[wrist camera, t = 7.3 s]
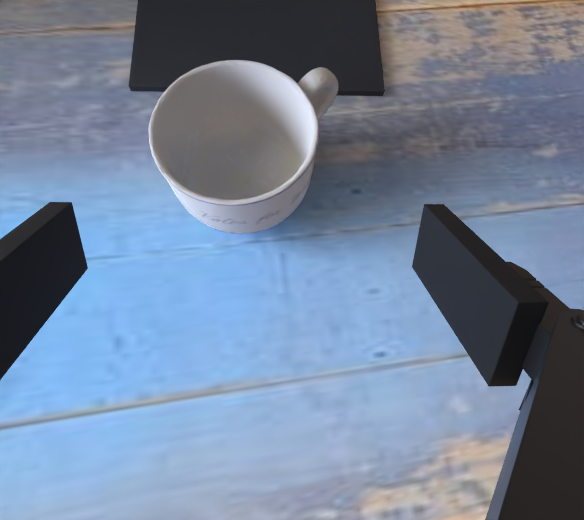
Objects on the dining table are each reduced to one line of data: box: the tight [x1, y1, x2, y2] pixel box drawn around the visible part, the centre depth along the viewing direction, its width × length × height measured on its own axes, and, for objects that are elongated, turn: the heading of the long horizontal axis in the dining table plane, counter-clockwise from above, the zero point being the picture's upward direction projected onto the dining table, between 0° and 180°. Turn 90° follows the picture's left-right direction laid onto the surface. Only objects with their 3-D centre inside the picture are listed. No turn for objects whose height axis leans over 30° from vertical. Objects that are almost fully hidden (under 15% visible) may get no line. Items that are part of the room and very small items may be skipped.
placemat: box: [129, 0, 385, 96], centre depth 38 cm, size 22×20×1 cm
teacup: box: [149, 60, 338, 234], centre depth 29 cm, size 14×11×8 cm
